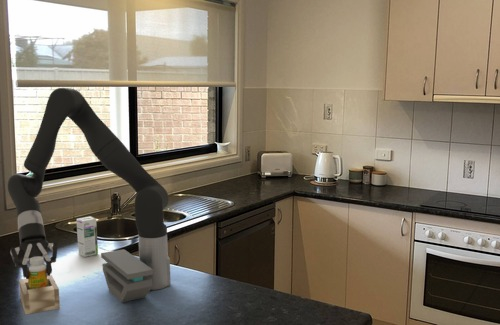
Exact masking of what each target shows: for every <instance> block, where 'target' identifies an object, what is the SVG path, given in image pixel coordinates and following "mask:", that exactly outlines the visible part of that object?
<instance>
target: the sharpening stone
mask: <svg viewBox="0 0 500 325" xmlns="http://www.w3.org/2000/svg"><path fill="white" fill-rule="evenodd" d="M100 257H101V259H102V260H103V261H105V262H106V263H105V262H104V263H102V271H103V276H104V278H105V281H106V285H107V288H108V291H109V292H110V293H111V295H113V296H114V297H115V298H116V299H117V300H118V301H119V302H120V303H125V302H129V301H134V300H138V299H144V298H146V297H147V296H148V294H149V292H150V291H151V290H150V289H151V287H152V279H151V278H150V277H148V275H153V269H152V268H150V267H149V266H147V265H146V264H144V263H143V262H142V261H140V260H139V258H138V257H136V256H134V255H133V254H131V253H130V252H129V251H127V250H126V249H124V248H123V249H116V250H111V251H107V252H106V251H104V252H100Z"/></svg>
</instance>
